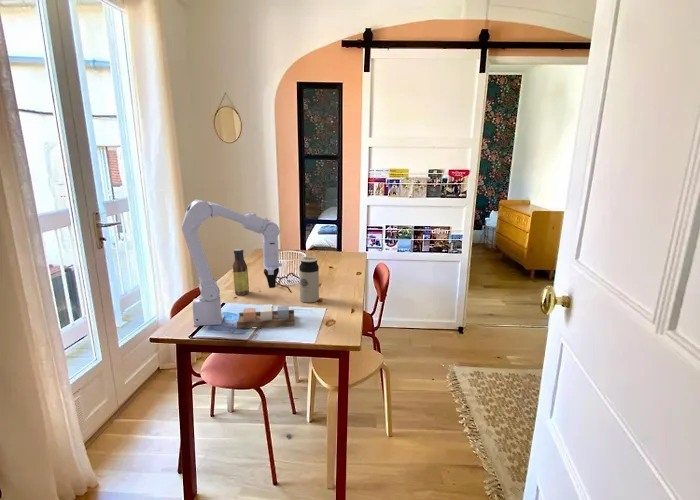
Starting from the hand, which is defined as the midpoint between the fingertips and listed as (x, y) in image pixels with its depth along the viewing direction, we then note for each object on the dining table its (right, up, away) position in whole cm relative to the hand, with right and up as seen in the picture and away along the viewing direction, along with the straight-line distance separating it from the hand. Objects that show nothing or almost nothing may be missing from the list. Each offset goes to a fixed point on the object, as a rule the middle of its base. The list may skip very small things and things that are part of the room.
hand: (272, 287), depth 151 cm
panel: (0, -12, -8) cm, 14 cm away
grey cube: (+6, -10, -7) cm, 14 cm away
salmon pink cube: (-6, -11, -9) cm, 15 cm away
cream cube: (0, -11, -8) cm, 13 cm away
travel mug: (+13, -7, +15) cm, 21 cm away
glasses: (+3, -3, +33) cm, 33 cm away
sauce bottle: (-18, -5, +22) cm, 29 cm away
